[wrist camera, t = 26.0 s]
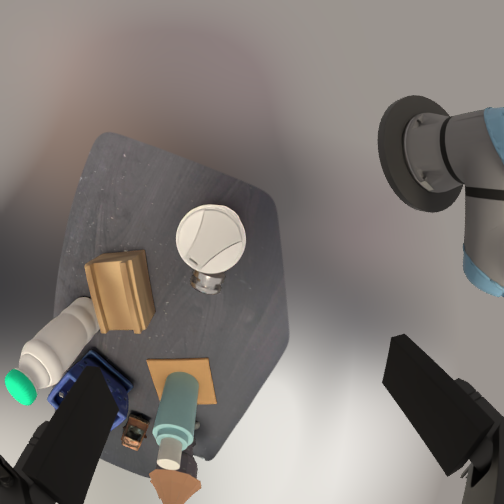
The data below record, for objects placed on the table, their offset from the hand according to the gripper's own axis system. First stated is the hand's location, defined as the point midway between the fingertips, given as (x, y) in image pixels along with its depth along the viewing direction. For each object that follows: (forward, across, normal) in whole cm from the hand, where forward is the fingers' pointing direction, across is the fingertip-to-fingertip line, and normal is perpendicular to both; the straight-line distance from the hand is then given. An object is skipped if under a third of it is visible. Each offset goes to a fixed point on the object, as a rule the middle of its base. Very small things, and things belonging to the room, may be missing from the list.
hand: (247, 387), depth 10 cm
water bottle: (+33, -29, -11) cm, 45 cm away
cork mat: (+33, -13, -27) cm, 45 cm away
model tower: (+33, -17, -40) cm, 55 cm away
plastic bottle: (+22, -13, -30) cm, 40 cm away
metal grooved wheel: (+33, -5, -5) cm, 34 cm away
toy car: (+33, -29, -42) cm, 60 cm away
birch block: (+33, -19, -5) cm, 38 cm away
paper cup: (+33, -3, +3) cm, 34 cm away
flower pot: (+33, -32, -26) cm, 52 cm away
